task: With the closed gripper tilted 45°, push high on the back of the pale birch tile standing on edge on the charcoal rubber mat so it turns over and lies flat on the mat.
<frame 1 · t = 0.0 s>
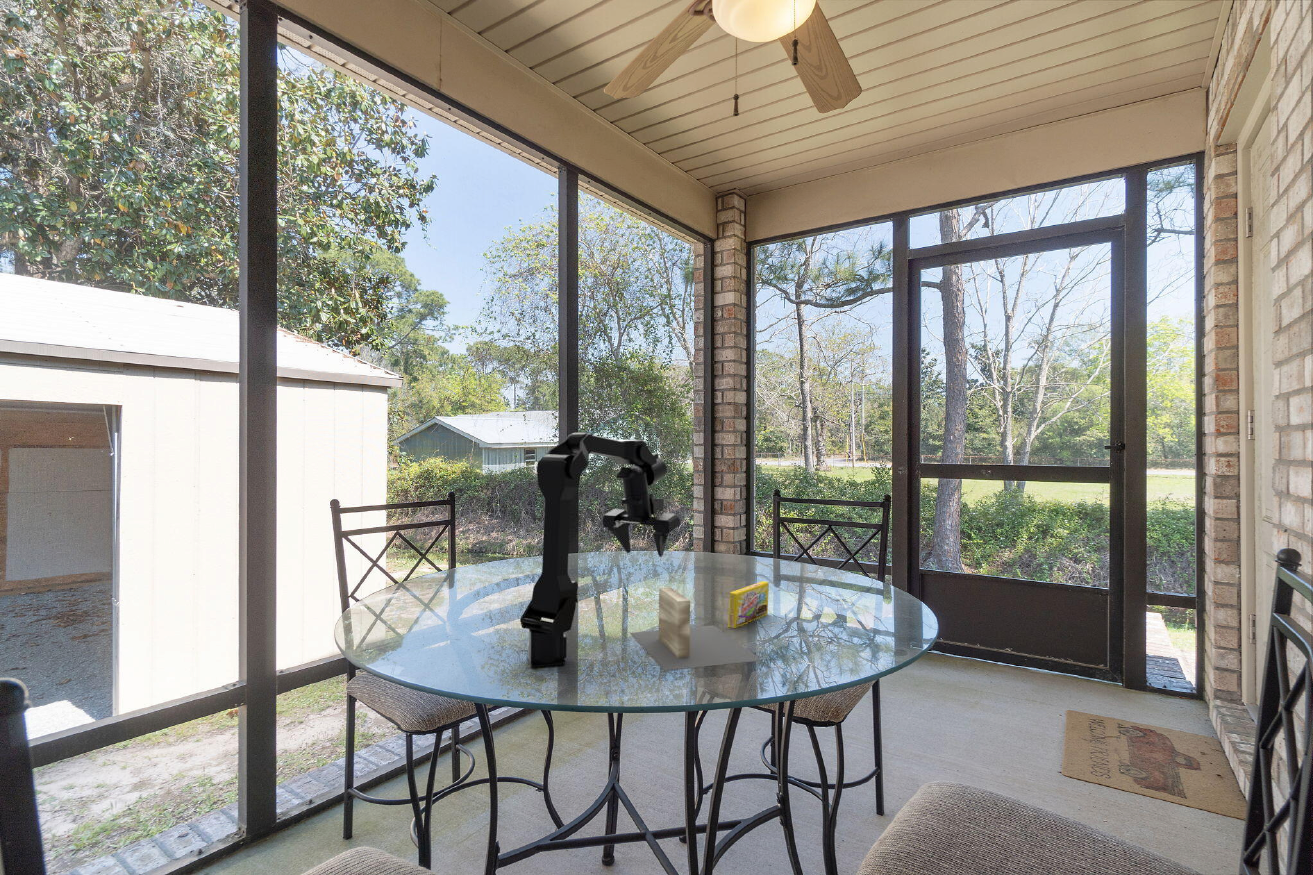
hand: (644, 554, 152), 15 cm above the table, tool pointing down, fingers open, 9 cm apart
candy box: (749, 622, 152), on the table
mat: (691, 647, 132), on the table
birch tile: (673, 647, 131), resting on mat
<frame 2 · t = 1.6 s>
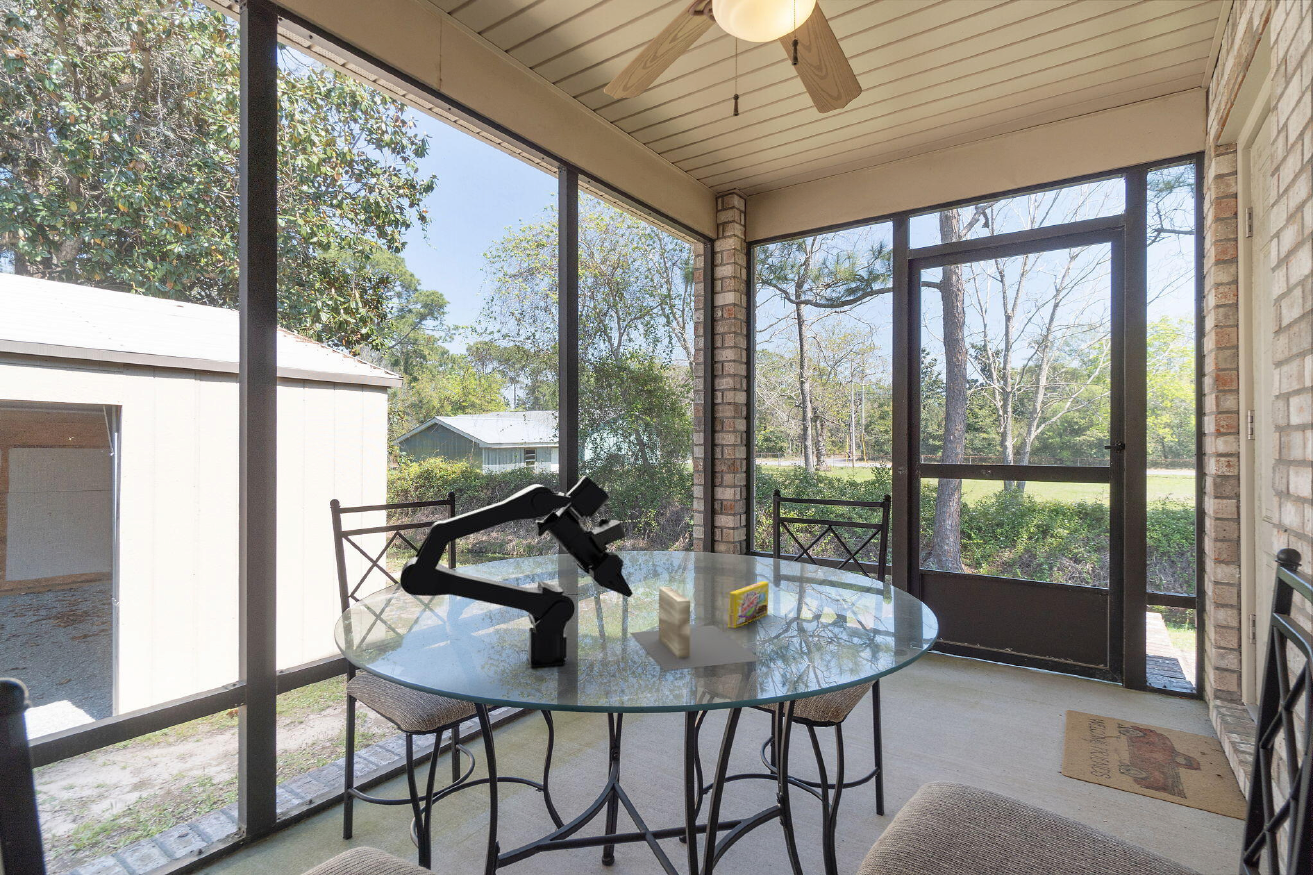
hand: (624, 590, 128), 13 cm above the table, tool tilted 45°, fingers open, 9 cm apart
nothing on the table moved.
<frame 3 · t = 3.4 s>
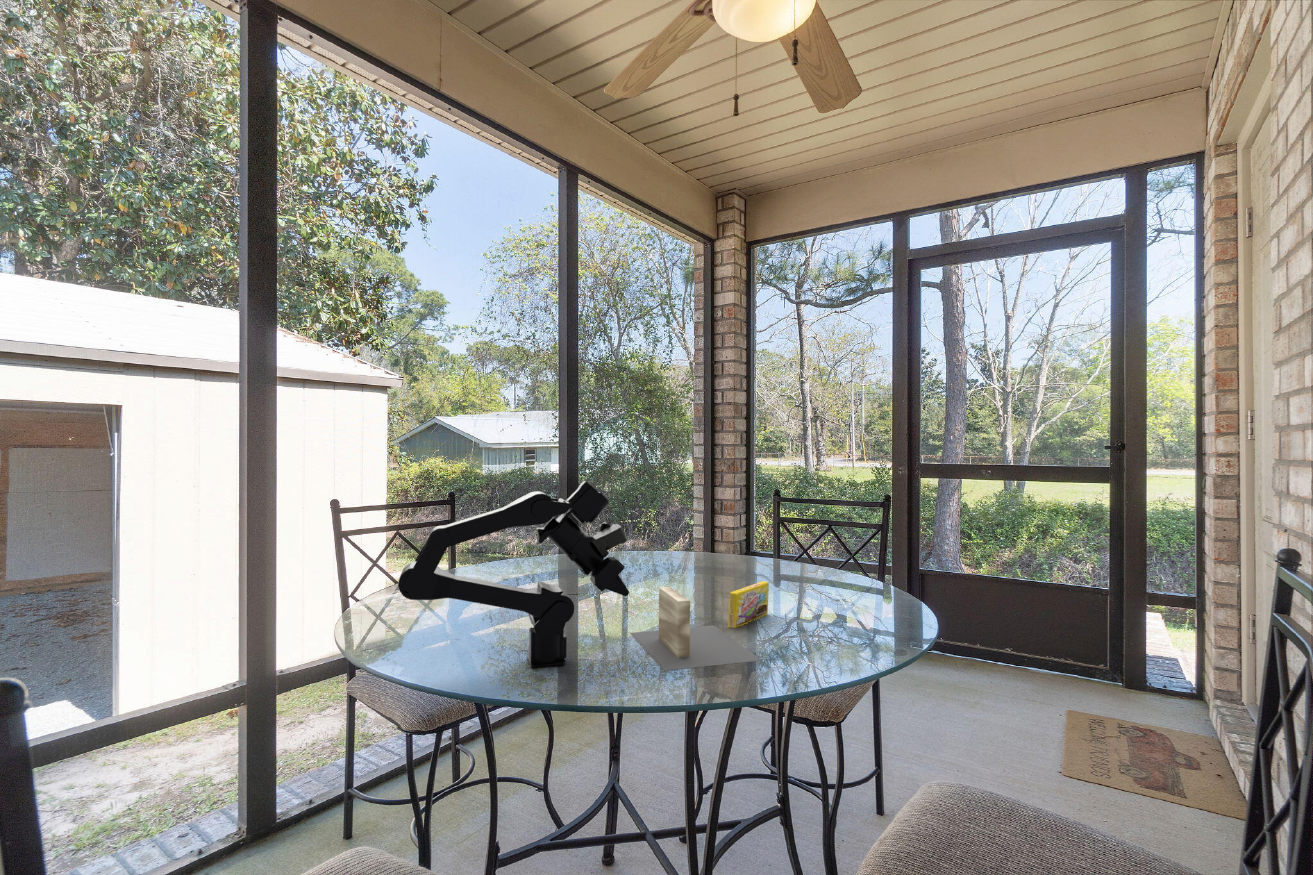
hand: (627, 594, 128), 12 cm above the table, tool tilted 45°, fingers closed
nothing on the table moved.
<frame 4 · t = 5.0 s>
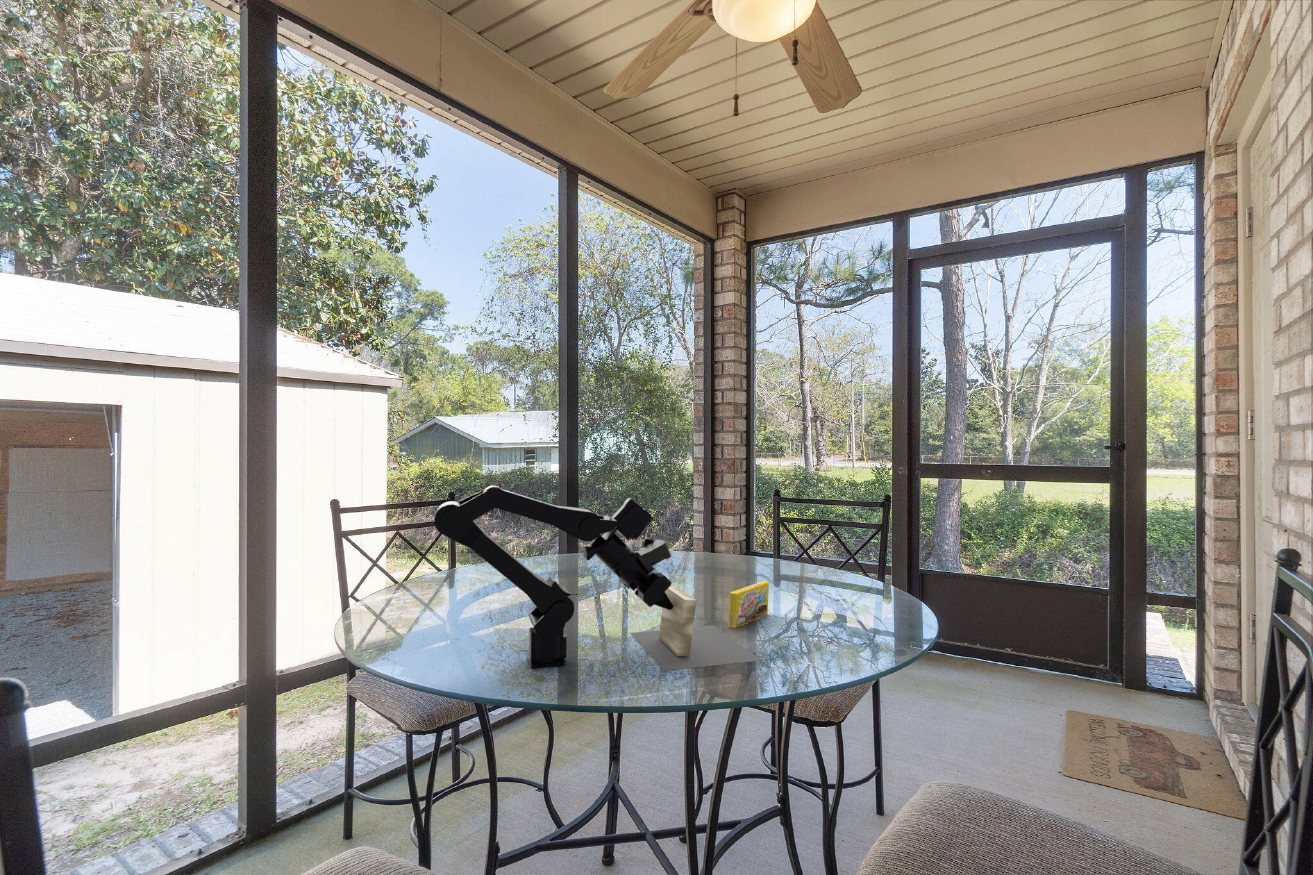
hand: (671, 608, 131), 8 cm above the table, tool tilted 45°, fingers closed, pressing on birch tile
birch tile: (673, 646, 131), resting on mat, tilted 7°, touching gripper
everything else where it was.
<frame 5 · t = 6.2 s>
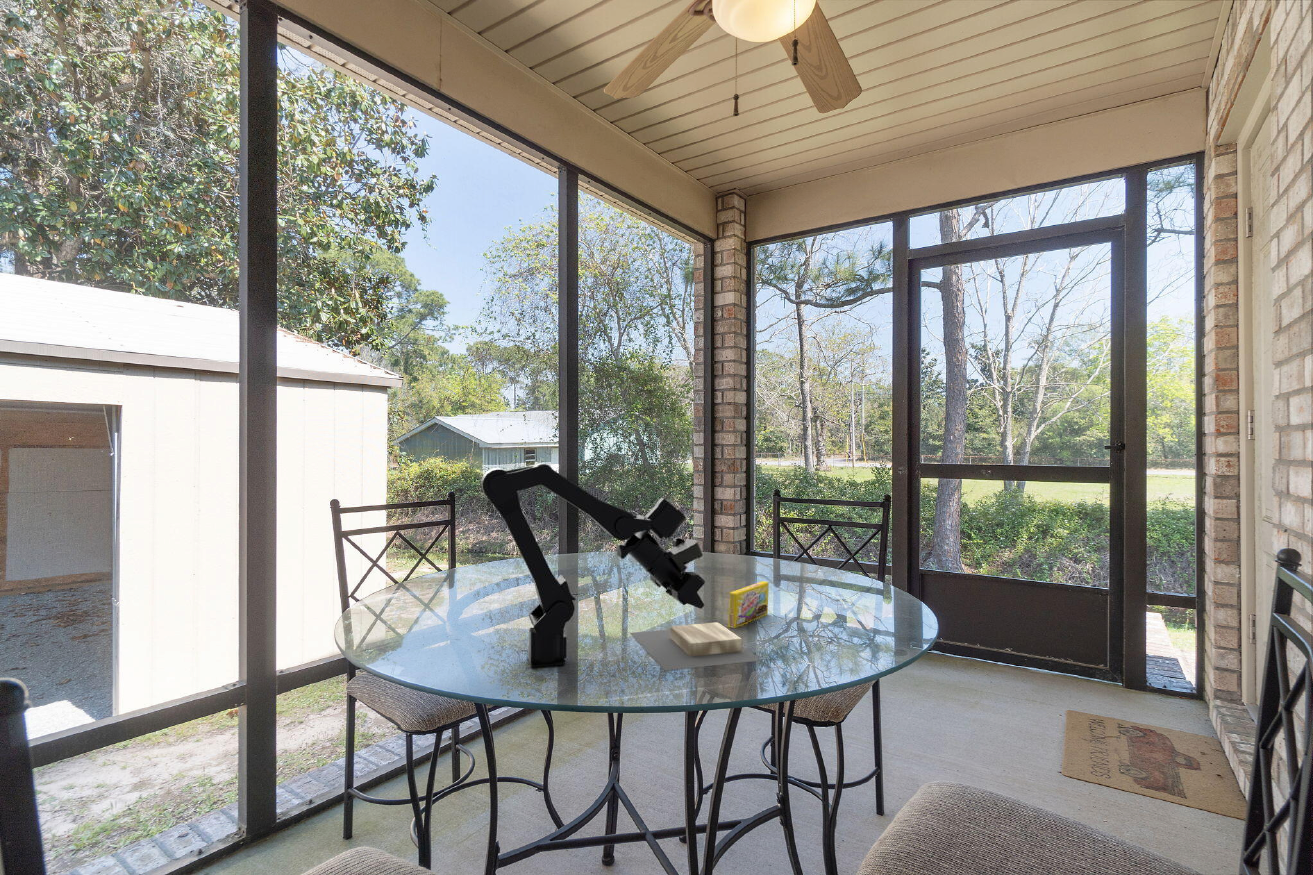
hand: (702, 606, 133), 8 cm above the table, tool tilted 45°, fingers closed
birch tile: (679, 640, 131), point 2 cm above the table, tilted 90°, touching mat
everything else where it was.
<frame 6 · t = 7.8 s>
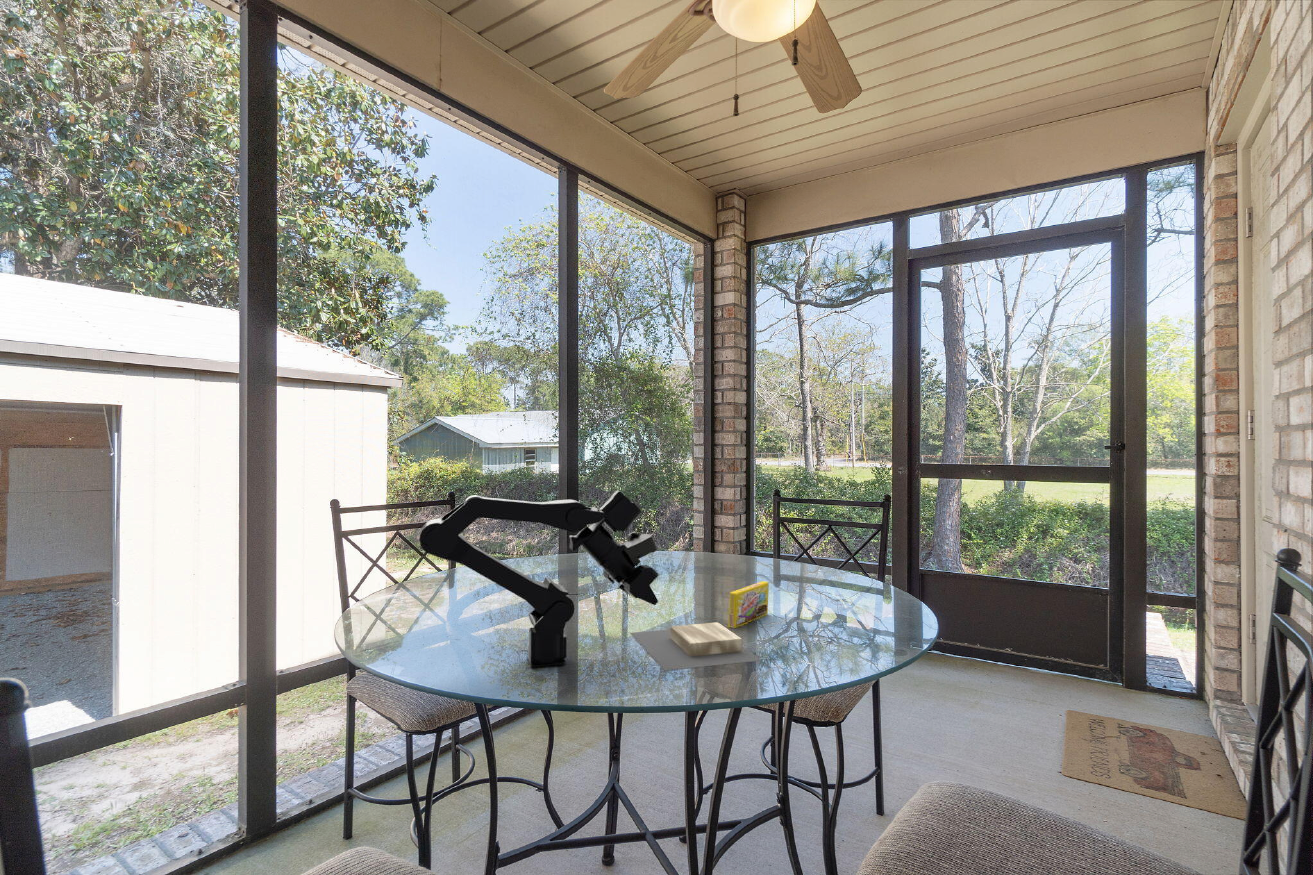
hand: (656, 603, 130), 10 cm above the table, tool tilted 45°, fingers closed
nothing on the table moved.
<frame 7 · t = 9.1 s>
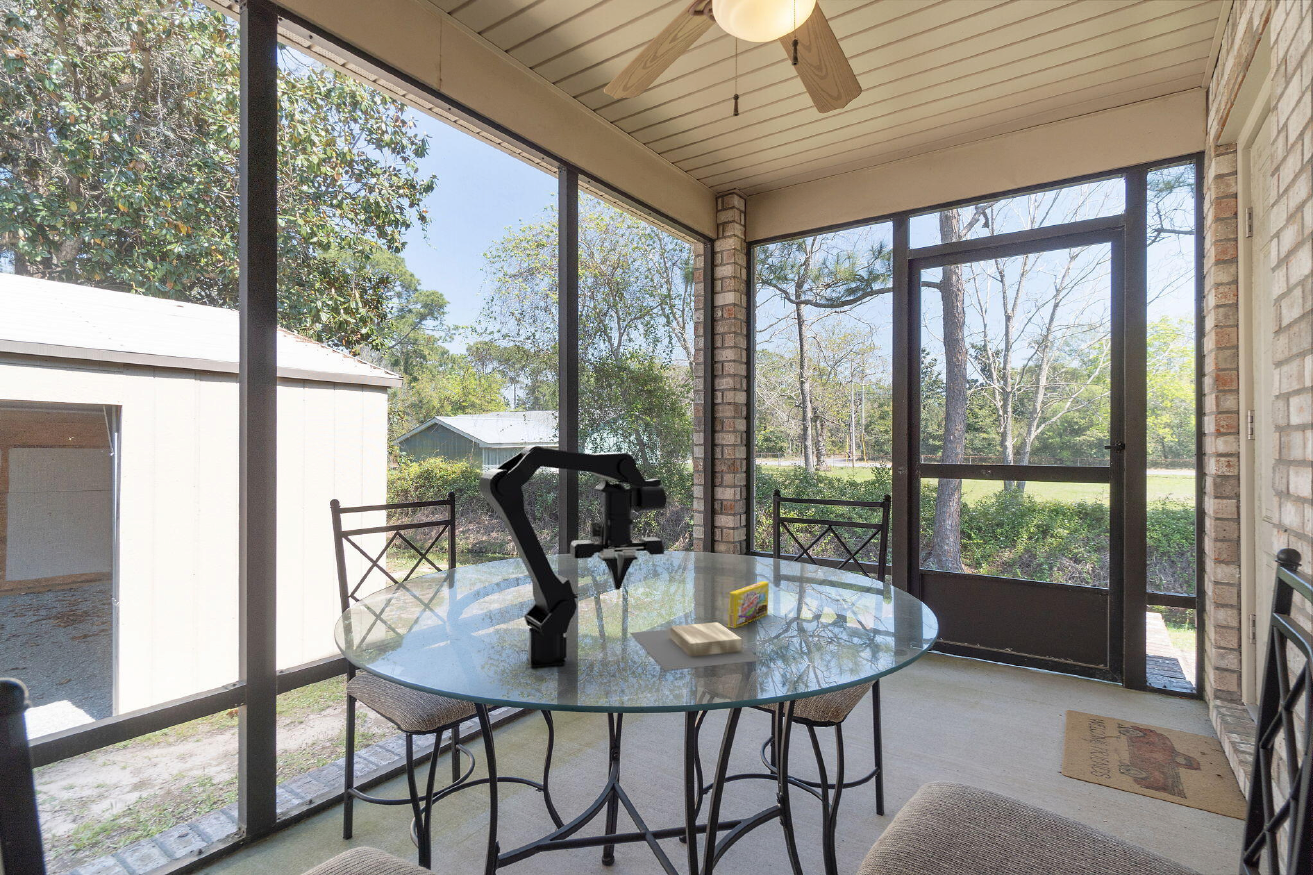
hand: (617, 589, 131), 12 cm above the table, tool pointing down, fingers closed
nothing on the table moved.
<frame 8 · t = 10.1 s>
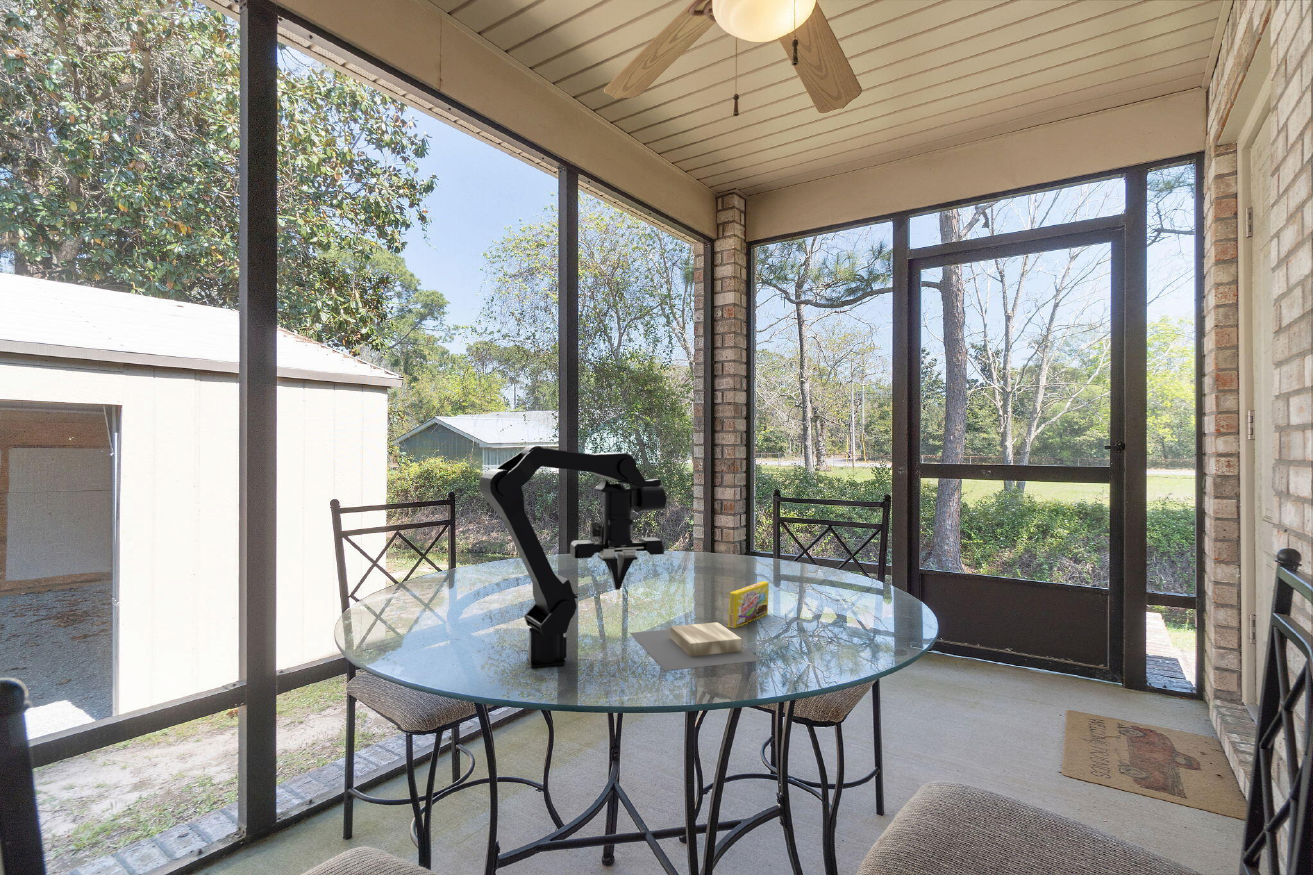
hand: (617, 589, 131), 12 cm above the table, tool pointing down, fingers closed
nothing on the table moved.
at the end: birch tile tilted 90°; birch tile touching mat; birch tile inside the target area (1.1 cm from its centre), point 1.5 cm above the table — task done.
